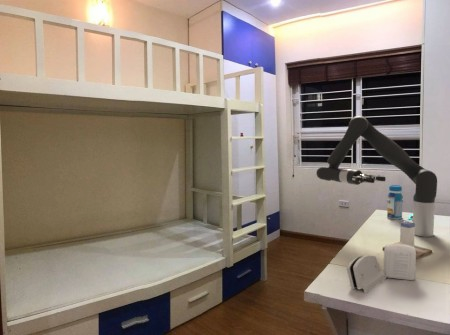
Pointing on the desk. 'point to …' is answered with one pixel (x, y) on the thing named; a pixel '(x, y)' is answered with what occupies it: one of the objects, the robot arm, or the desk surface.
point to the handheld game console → (411, 217)
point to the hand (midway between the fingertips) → (379, 179)
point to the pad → (419, 251)
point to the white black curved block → (365, 273)
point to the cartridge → (407, 233)
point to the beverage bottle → (395, 202)
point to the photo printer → (399, 261)
